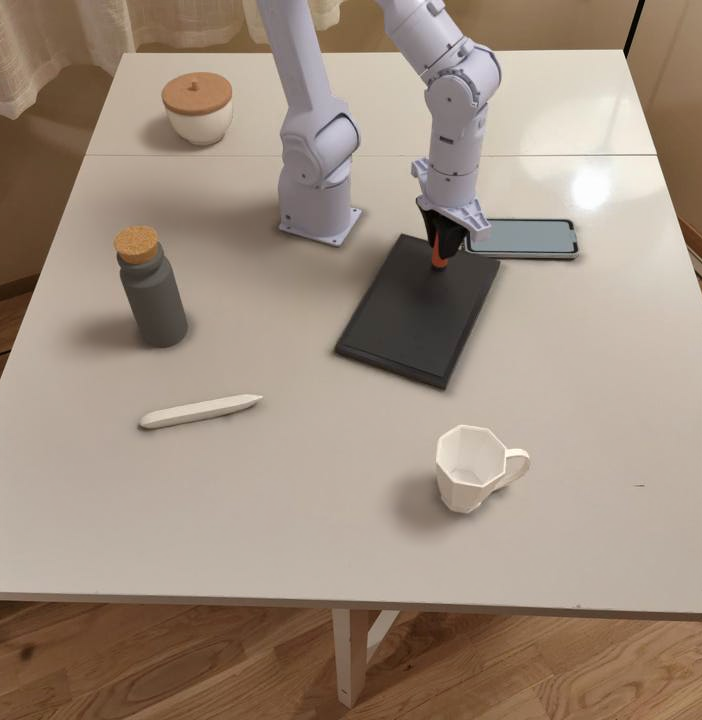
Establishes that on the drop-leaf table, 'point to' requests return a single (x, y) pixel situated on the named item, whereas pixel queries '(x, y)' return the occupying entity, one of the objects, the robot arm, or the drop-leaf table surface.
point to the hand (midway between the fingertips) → (442, 250)
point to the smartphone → (527, 238)
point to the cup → (473, 466)
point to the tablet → (419, 312)
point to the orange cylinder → (436, 260)
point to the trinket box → (199, 106)
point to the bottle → (150, 287)
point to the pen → (198, 411)
